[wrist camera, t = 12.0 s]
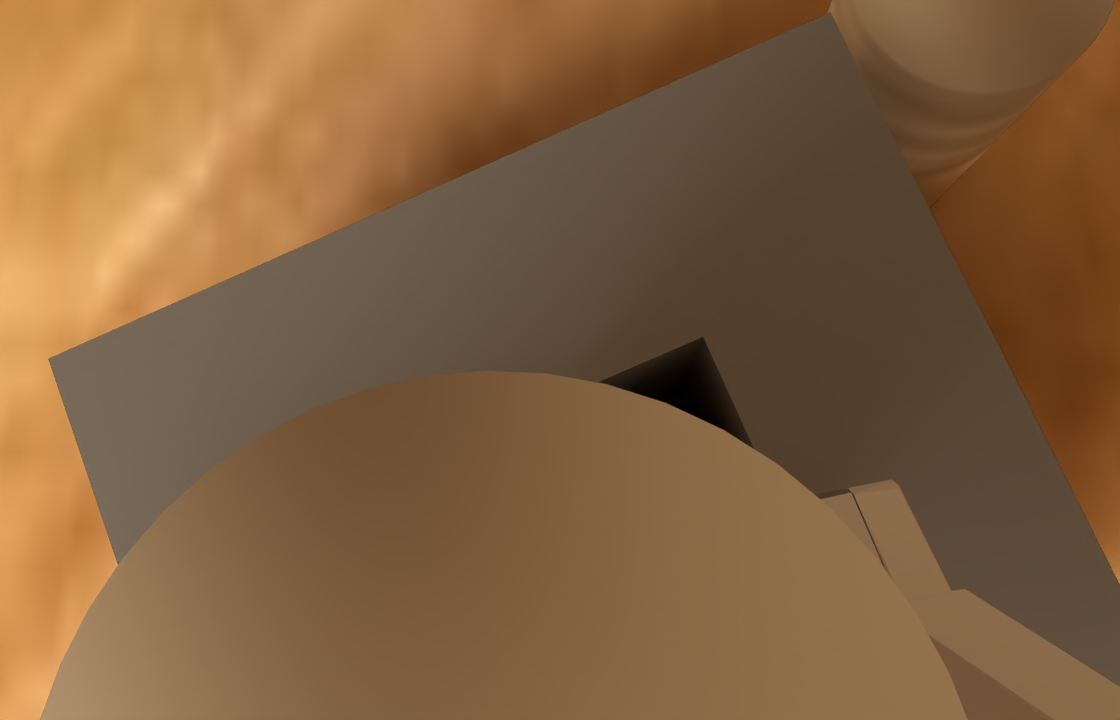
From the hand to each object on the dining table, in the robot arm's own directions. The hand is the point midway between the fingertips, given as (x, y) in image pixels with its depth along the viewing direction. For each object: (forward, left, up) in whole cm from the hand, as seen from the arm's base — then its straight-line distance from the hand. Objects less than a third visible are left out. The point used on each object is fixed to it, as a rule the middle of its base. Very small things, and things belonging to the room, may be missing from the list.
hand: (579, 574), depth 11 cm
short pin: (+10, +6, -14) cm, 18 cm away
